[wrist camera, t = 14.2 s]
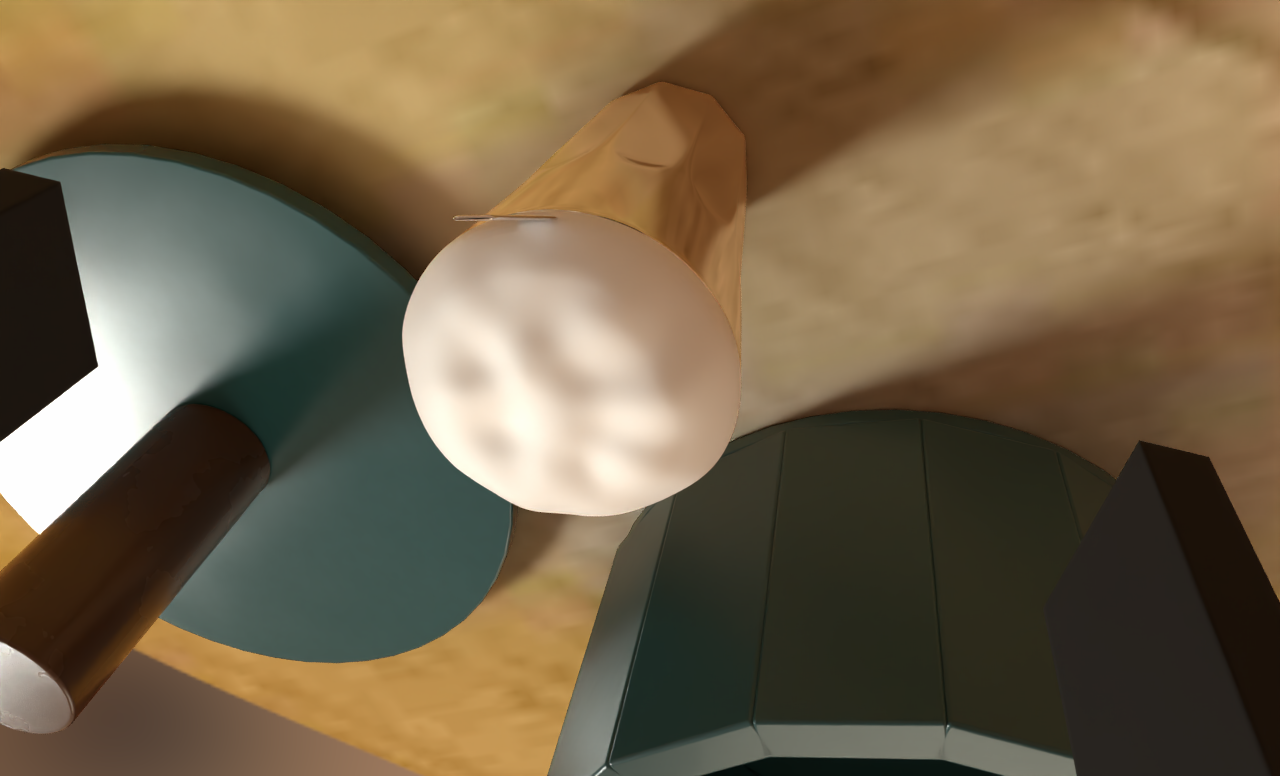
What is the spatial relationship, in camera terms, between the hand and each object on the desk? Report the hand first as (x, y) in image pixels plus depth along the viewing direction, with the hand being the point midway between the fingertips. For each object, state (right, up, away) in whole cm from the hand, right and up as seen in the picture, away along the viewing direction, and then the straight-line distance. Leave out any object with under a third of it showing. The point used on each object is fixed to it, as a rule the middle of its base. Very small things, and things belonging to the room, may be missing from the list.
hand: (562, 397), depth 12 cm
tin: (+7, -7, +13) cm, 17 cm away
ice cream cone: (+2, +5, +7) cm, 9 cm away
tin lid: (-10, -1, +13) cm, 16 cm away
